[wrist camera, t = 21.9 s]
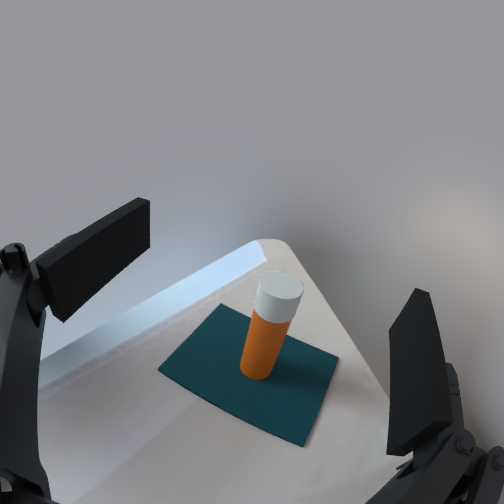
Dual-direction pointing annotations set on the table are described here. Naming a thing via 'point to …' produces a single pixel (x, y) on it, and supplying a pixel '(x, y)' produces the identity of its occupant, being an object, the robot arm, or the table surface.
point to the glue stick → (270, 321)
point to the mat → (249, 390)
